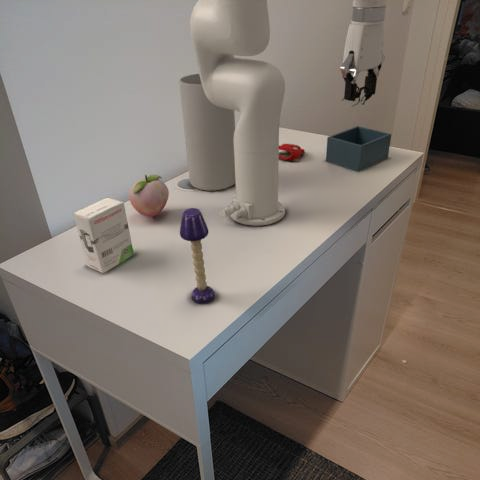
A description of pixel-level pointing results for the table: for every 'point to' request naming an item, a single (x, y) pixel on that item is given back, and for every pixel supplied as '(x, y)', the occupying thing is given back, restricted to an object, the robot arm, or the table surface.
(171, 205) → the table surface
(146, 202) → the decorative fruit
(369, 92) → the creature
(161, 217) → the table surface
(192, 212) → the toy lamp
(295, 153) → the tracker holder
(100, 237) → the ink box
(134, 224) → the table surface
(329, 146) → the teal open box
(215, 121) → the cylinder vase
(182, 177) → the table surface
